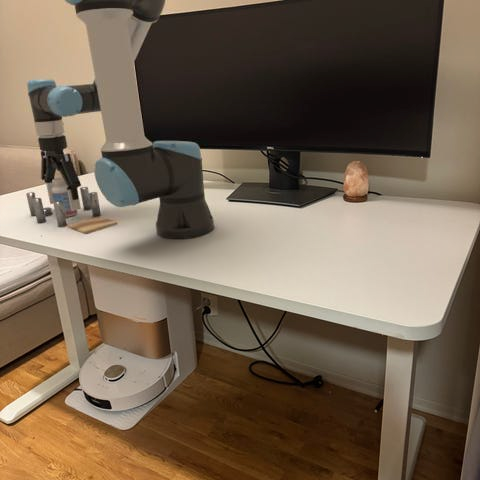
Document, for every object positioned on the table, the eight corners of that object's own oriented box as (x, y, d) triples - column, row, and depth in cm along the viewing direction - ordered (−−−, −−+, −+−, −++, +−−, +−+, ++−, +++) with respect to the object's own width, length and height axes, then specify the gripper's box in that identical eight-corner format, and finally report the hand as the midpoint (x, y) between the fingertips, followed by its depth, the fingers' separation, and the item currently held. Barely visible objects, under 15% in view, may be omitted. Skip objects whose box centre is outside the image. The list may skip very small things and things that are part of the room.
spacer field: (108, 213, 141) (104, 191, 139) (53, 229, 130) (48, 205, 127) (75, 203, 155) (71, 183, 152) (23, 217, 143) (18, 195, 141)
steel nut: (55, 213, 145) (54, 207, 144) (46, 217, 142) (45, 211, 141) (45, 213, 146) (43, 207, 146) (36, 217, 143) (34, 211, 142)
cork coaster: (117, 224, 131) (117, 222, 131) (85, 234, 124) (85, 232, 124) (99, 218, 137) (98, 216, 137) (67, 227, 131) (67, 225, 131)
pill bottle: (70, 218, 139) (63, 181, 135) (52, 218, 141) (45, 181, 137) (81, 212, 145) (74, 176, 141) (63, 212, 146) (56, 176, 142)
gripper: (85, 136, 129) (97, 209, 136) (44, 131, 145) (57, 197, 153) (59, 140, 124) (73, 216, 131) (20, 135, 140) (35, 202, 148)
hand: (65, 206), depth 142 cm, fingers open, 13 cm apart
